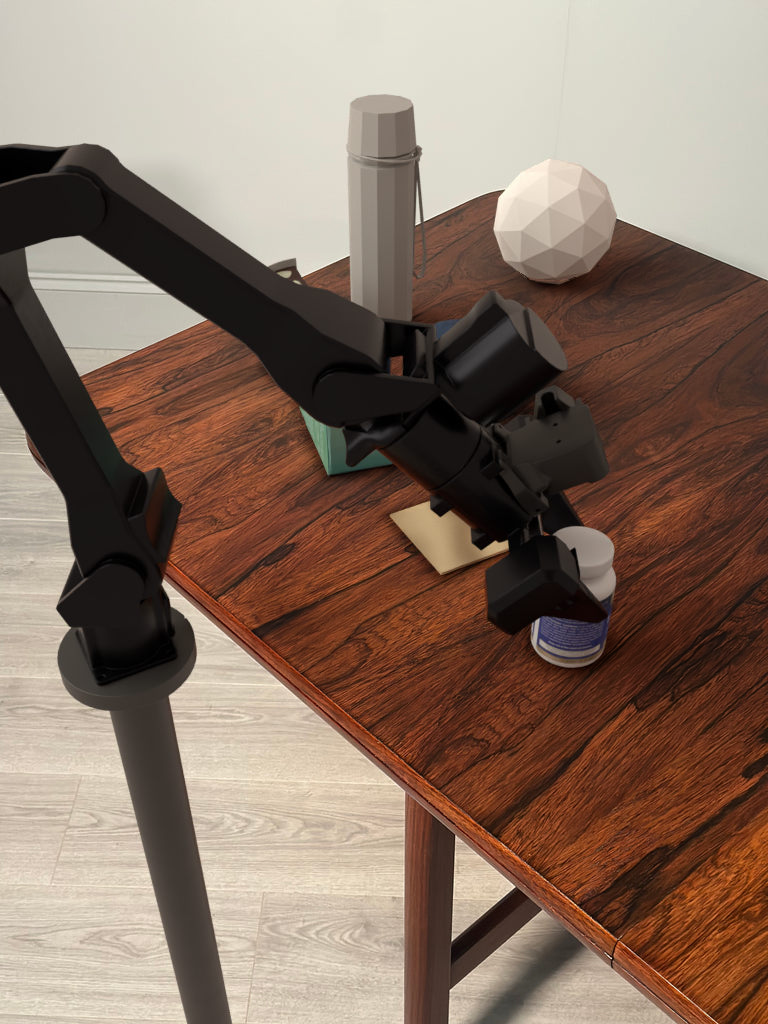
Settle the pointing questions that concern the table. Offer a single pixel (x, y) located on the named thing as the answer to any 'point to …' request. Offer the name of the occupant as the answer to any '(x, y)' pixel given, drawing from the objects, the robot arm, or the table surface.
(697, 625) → the table surface
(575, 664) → the pill bottle
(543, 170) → the geometric sphere
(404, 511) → the sticky note
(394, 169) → the water bottle
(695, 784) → the table surface
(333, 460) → the box
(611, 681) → the table surface
